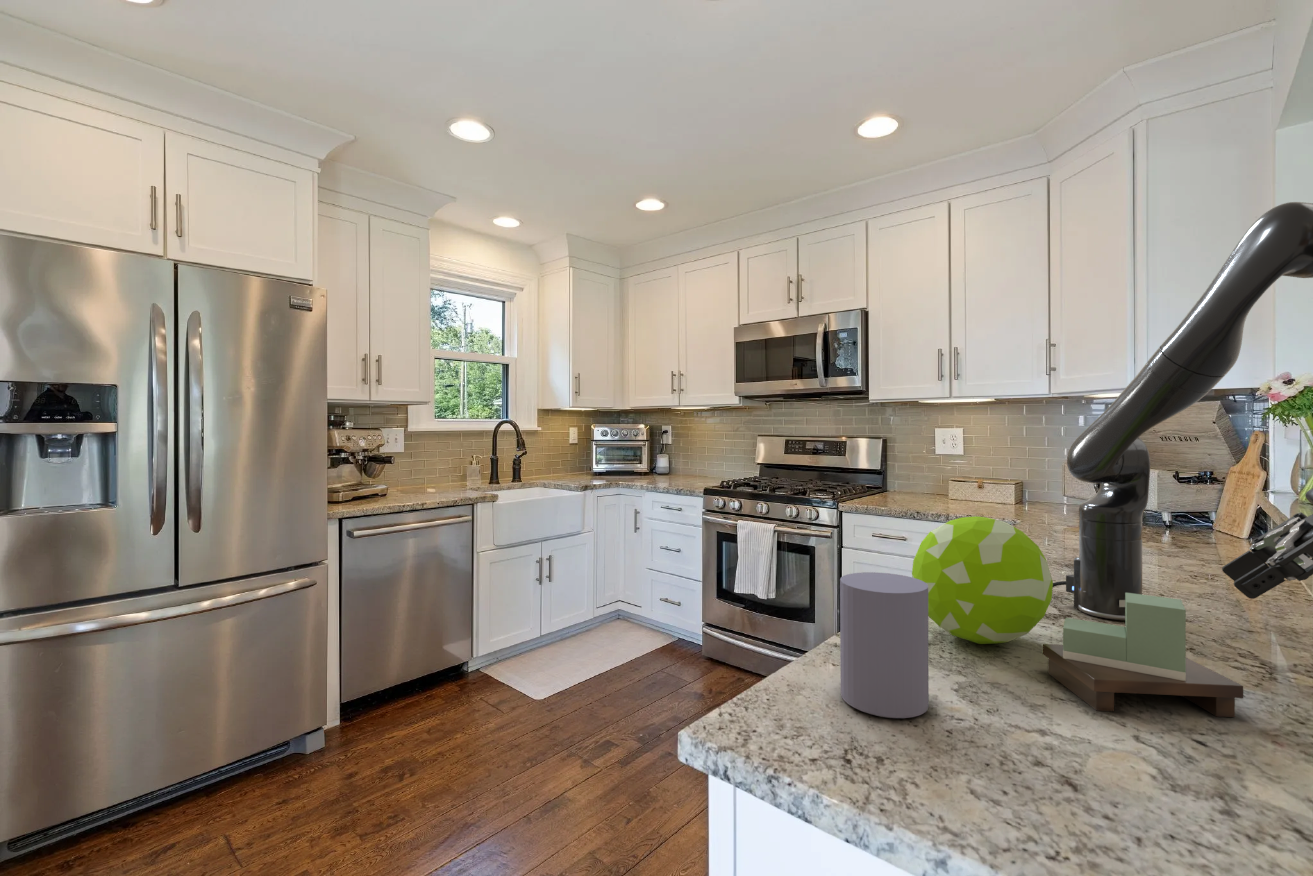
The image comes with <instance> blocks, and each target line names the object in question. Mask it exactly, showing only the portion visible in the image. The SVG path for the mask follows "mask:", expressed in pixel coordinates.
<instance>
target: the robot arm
mask: <svg viewBox="0 0 1313 876" xmlns="http://www.w3.org/2000/svg"><path fill="white" fill-rule="evenodd" d="M1281 277H1290V278H1298V279H1313V202H1304V201H1303V202H1301V201H1290V202H1289V201H1288V202H1285V203H1281V204H1279V205H1276V206H1274V207H1272V208H1271V209H1269V210H1268V211H1266V212H1264V213H1263V214H1262V215H1261V216H1260V217H1258V218H1257V219H1256V220H1255V221H1254V222H1253V223H1252V224H1251V226H1250V227H1249V228H1248V229H1247V230H1246V232H1245V233H1244V234H1243V236H1241V238H1240V240H1239V241H1238V242H1237V244H1236V245H1235V247H1234V248H1233V249H1232V251H1231V253H1229V255H1228V256H1227V259H1226V260H1225V261H1224V263H1223V265H1222V266H1221V267H1220V269H1219V271H1218V272H1217V273H1216V275H1215V277H1214V278H1213V280H1211V282H1210V284H1209V285H1208V287H1207V288H1206V289H1205V291H1204V292H1203V293H1202V294H1201V296H1200V297H1199V299H1198V300H1197V301H1196V302H1195V304H1193V306H1192V308H1191V309H1190V310H1189V311H1188V312H1187V314H1186V315H1185V316H1184V318H1183V319H1182V320H1181V321H1180V323H1179V324H1178V325H1177V326H1176V327H1175V328H1174V330H1173V331H1172V332H1171V333H1170V334H1169V336H1167V337H1166V338H1165V340H1164V341H1163V342H1162V343H1161V344H1160V345H1159V346H1158V348H1157V349H1156V351H1155V352H1154V353H1153V354H1152V355H1151V356H1150V357H1149V358H1148V360H1147V361H1146V363H1145V364H1144V365H1143V367H1141V369H1140V370H1139V372H1138V373H1137V374H1136V376H1135V377H1133V379H1132V380H1131V381H1130V382H1129V383H1128V385H1127V386H1126V387H1125V388H1124V389H1123V390H1122V391H1121V393H1120V394H1119V395H1118V396H1117V398H1115V400H1114V401H1113V402H1112V403H1111V404H1110V405H1109V406H1108V407H1107V408H1106V409H1105V410H1104V411H1103V412H1102V413H1101V414H1100V415H1099V416H1098V418H1096V419H1095V420H1094V421H1093V422H1092V423H1091V424H1090V425H1088V427H1087V428H1086V429H1084V430H1083V432H1081V433H1080V434H1079V435H1078V437H1076V439H1075V440H1073V442H1072V444H1071V446H1070V448H1069V449H1068V453H1067V457H1066V465H1067V469H1068V471H1069V473H1070V475H1071V476H1072V477H1073V478H1075V479H1076V480H1078V481H1081V482H1084V483H1089V484H1099V488H1098V491H1096V493H1095V494H1094V495H1093V496H1092V497H1090V498H1089V499H1086V500H1085V501H1083V502H1081V503H1080V504H1079V507H1078V556H1076V557H1074V558H1073V574H1066V575H1065V580H1063V581H1054V582H1053V588H1054V587H1058V586H1065V592H1066V593H1069V594H1073V608H1074V609H1077V610H1079V611H1080V612H1082V613H1085V614H1088V615H1090V616H1094V617H1097V618H1102V619H1107V620H1114V621H1125V593H1133V594H1141V595H1143V514H1144V512H1145V510H1146V509H1147V507H1148V503H1149V496H1150V495H1149V494H1150V492H1149V491H1150V478H1151V457H1150V452H1149V448H1148V446H1147V445H1146V443H1145V441H1143V439H1142V438H1141V436H1142V435H1144V434H1145V433H1146V432H1148V431H1149V430H1151V429H1152V428H1154V427H1156V426H1157V425H1159V424H1161V423H1163V422H1165V421H1166V420H1168V419H1171V418H1172V417H1174V416H1175V415H1177V414H1179V413H1182V412H1183V411H1185V410H1186V409H1188V408H1190V407H1192V406H1193V405H1195V404H1196V403H1198V402H1199V401H1201V399H1203V398H1204V397H1205V396H1207V394H1209V393H1210V392H1211V391H1212V390H1213V389H1214V388H1215V386H1216V385H1218V383H1220V381H1221V380H1222V379H1223V378H1224V377H1225V376H1226V375H1227V374H1228V373H1229V372H1230V371H1231V370H1232V368H1233V367H1234V366H1235V365H1236V363H1237V361H1238V359H1239V356H1240V354H1241V353H1240V352H1241V348H1242V343H1243V338H1244V329H1245V322H1246V320H1247V317H1248V315H1249V313H1250V312H1251V310H1252V309H1253V307H1254V305H1255V304H1256V303H1257V302H1258V301H1259V300H1260V299H1261V297H1262V296H1263V295H1264V294H1265V292H1267V290H1268V289H1269V288H1270V287H1271V286H1272V285H1273V284H1274V283H1276V281H1277V280H1279V279H1280V278H1281ZM1304 496H1305V499H1306V500H1307V501H1308V502H1309V503H1310V504H1312V505H1313V487H1312V488H1310V489H1309V490H1308V491H1306V492H1305V494H1304ZM1248 549H1249V550H1247V551H1245V552H1244V553H1242V554H1240V555H1239V556H1237V557H1236V558H1234V559H1233V560H1231V561H1230V562H1228V563H1226V564H1224V565H1223V566H1222V567H1221V571H1222V572H1223V573H1224V575H1226V576H1228V578H1230V579H1231V580H1232V581H1233V586H1234V587H1235V589H1237V590H1238V591H1239V592H1240V593H1242V594H1243V595H1244V596H1245V597H1247V598H1248V599H1251V600H1254V599H1258V598H1259V597H1260V596H1262V595H1264V594H1266V593H1267V592H1268V591H1271V590H1272V589H1274V588H1275V587H1277V586H1279V585H1281V584H1282V583H1285V582H1286V580H1287V581H1288V582H1291V581H1295V580H1297V581H1298V582H1301V581H1305V580H1307V579H1309V578H1310V577H1311V576H1313V513H1312V514H1310V515H1306V514H1305V513H1304V512H1296V513H1295V514H1293V515H1292V516H1291V517H1290V518H1288V519H1287V520H1285V521H1283V522H1281V523H1280V524H1278V525H1277V526H1275V527H1274V528H1272V529H1270V530H1268V531H1266V532H1265V533H1263V534H1261V535H1260V536H1259V537H1256V538H1254V539H1253V540H1252V542H1251V544H1250V547H1248Z"/></svg>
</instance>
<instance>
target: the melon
mask: <svg viewBox="0 0 1313 876" xmlns="http://www.w3.org/2000/svg"><path fill="white" fill-rule="evenodd" d="M911 577H912V578H916V579H919V580H921V581H923V582H925V583H927V584H928V618H930V619H931V620H932V621H933V622H934V623H935V624H936V625H937V626H938V627H939V628H941V629H942V630H943V631H945V632H947V633H948V634H949V635H951V636H953V637H956V638H960V639H962V640H966V641H968V642H971V643H975V644H978V645H993V644H994V645H995V644H1003V643H1008V642H1011V641H1014V640H1016V639H1018V638H1021V637H1023V636H1025V635H1027V634H1029V633H1030V632H1031V631H1032V630H1033V629H1034V628H1035V627H1036V626H1037V624H1039V622H1041V621H1042V620H1043V618H1045V615H1046V613H1047V611H1048V609H1049V606H1050V604H1051V602H1052V600H1053V588H1054V587H1053V583H1054V581H1053V577H1052V574H1051V570H1050V567H1049V563H1048V560H1047V558H1046V557H1045V555H1044V553H1043V552H1042V549H1041V548H1040V547H1039V545H1038V544H1037V543H1035V542H1034V541H1033V539H1031V537H1030V536H1028V535H1027V534H1026V533H1025V532H1024V531H1022V530H1021V529H1019V528H1017V527H1015V526H1013V525H1011V524H1010V523H1008V522H1006V521H1003V520H999V519H995V518H991V517H986V516H977V515H975V516H965V517H964V516H962V517H958V518H955V519H951V520H948V521H947V522H945V523H943V524H941V525H940V526H937V527H936V528H934V529H932V530H930V531H929V532H928V533H927V535H926V536H925V537H924V538H923V540H921V542H920V544H919V547H918V549H917V551H916V553H915V556H914V558H913V560H912V567H911Z"/></svg>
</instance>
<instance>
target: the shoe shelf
mask: <svg viewBox="0 0 1313 876" xmlns="http://www.w3.org/2000/svg"><path fill="white" fill-rule="evenodd" d="M1042 655H1043V656H1044V657H1046V658H1047V659H1048V661H1047V662H1048V663H1047V665H1048V666H1047V667H1048V668H1047V669H1048V673H1047V674H1048V675H1049V676H1051V677H1052V678H1053V679H1055V680H1056V681H1057V682H1058V683H1060V684H1061V685H1062V686H1063V687H1065V688H1067V690H1069V691H1070V692H1072V693H1073V694H1074V695H1075V696H1077V697H1078V698H1079V699H1081V700H1082V701H1084V703H1086V704H1087V705H1089V706H1090V707H1091V708H1092V709H1094V710H1095V711H1097V712H1099V711H1101V712H1102V711H1103V712H1115V693H1120V694H1141V695H1161V696H1162V695H1163V696H1181V697H1182V698H1184V699H1186V700H1188V702H1191V703H1193V704H1194V705H1196V706H1198V707H1200V708H1201V709H1203V710H1205V711H1207V712H1208V713H1210V714H1212V715H1213V716H1215V717H1220V718H1221V717H1224V718H1235V717H1236V709H1235V708H1236V699H1244V685H1242V684H1241V683H1239V682H1237V681H1235V680H1232V679H1231V678H1228V677H1226V676H1224V675H1222V674H1221V673H1218V672H1216V671H1214V670H1212V669H1210V668H1208V667H1206V666H1204V665H1203V664H1200V663H1198V662H1196V661H1194V660H1192V659H1190V658H1188V657H1186V672H1185V673H1186V681H1182V680H1176V679H1171V678H1166V677H1160V676H1155V675H1150V674H1144V673H1139V672H1134V671H1128V670H1123V669H1118V668H1112V667H1107V666H1102V665H1096V664H1091V663H1086V662H1080V661H1075V660H1070V659H1064V658H1063V644H1059V643H1058V644H1055V643H1042Z"/></svg>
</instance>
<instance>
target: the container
mask: <svg viewBox="0 0 1313 876" xmlns="http://www.w3.org/2000/svg"><path fill="white" fill-rule="evenodd" d="M839 599H840V600H839V615H840V616H839V617H840V618H839V623H840V624H839V627H840V628H839V629H840V630H839V632H840V633H839V635H840V639H839V641H840V642H839V643H840V644H839V645H840V648H839V650H840V654H839V655H840V656H839V657H840V661H839V663H840V667H839V669H840V697H841V698H842V699H843V701H844V702H845V703H846V704H847V705H849V706H850V707H852V708H854V709H856V710H857V711H859V712H862V713H864V714H867V715H871V716H875V717H879V718H884V719H909V718H915V717H919V716H921V715H923V714H924V713H926V712H927V711H928V710H929V708H930V706H929V705H930V704H929V701H930V699H929V698H930V697H929V696H930V695H929V691H930V690H929V616H928V584H927V583H925V582H923V581H921V580H919V579H916V578H912V576H907V575H903V574H898V573H888V572H876V571H875V572H874V571H872V572H871V571H870V572H866V571H865V572H863V571H862V572H852V573H849V574H848V573H847V574H844V575H842V576H841V577H840V579H839Z"/></svg>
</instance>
